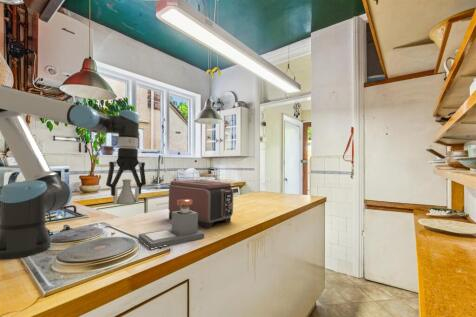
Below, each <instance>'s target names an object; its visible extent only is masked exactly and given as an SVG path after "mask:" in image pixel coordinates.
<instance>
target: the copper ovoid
mask: <svg viewBox="0 0 476 317" xmlns="http://www.w3.org/2000/svg"><path fill="white" fill-rule="evenodd" d="M177 205H178V206H181V213H180V214H189V206H191V205H193V200H192V199H179V200H177Z"/></svg>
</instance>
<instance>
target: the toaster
mask: <svg viewBox="0 0 476 317" xmlns="http://www.w3.org/2000/svg"><path fill="white" fill-rule="evenodd" d="M179 199H192V200H193V205H191V206H189V210H191V211H194V212H197V213H198V227H199V228H203V229H211V228H212V226H213V225H214V223H215V222H224V223H229V222H230V223H231V217H232V216H233V213H234V189H233V188H232V186H231V183H230V182H221V181H213V180H211V181H210V180H201V179H200V180H198V179H189V180H188V179H187V180H186V179H185V180H172V181H170V185H168V211H169V212H168V219H169V220H172V212H175V211H181V206H178V205H177V200H179Z"/></svg>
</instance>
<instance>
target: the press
mask: <svg viewBox="0 0 476 317" xmlns="http://www.w3.org/2000/svg"><path fill="white" fill-rule="evenodd" d="M180 213H181V211H175V212H172V219H171V228H166V229H162V230H156V231H155V230H154V231H150V232H144V233H139V234H138V239H139V238H140V239H141V240H142V241H143V242H144V243H145V244H146V245H148V246H149V247H150V248H155V247H159V246H164V245H168V246H167V247H169V246H174V245H178V244H183V243H187V242H192V241H196V240H200V239H201V240H202V239H205V233H204V232H203V231H201V230H199V228H198V227H199V226H198V213H197V212H194V211H191V210H189V214H180ZM143 242H142V243H143ZM144 243H143V244H144ZM145 244H144V245H145ZM146 245H145V246H146ZM149 247H148V248H149ZM150 248H149V249H150Z"/></svg>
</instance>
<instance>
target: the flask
mask: <svg viewBox="0 0 476 317" xmlns="http://www.w3.org/2000/svg"><path fill="white" fill-rule="evenodd" d="M131 182H132V179H129V178H128V179H122V187H121V190H120V192H119V195H118V196H117V204H116V205H132V204H136V201H135V195H134V194H133V190H132V185H131Z"/></svg>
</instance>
